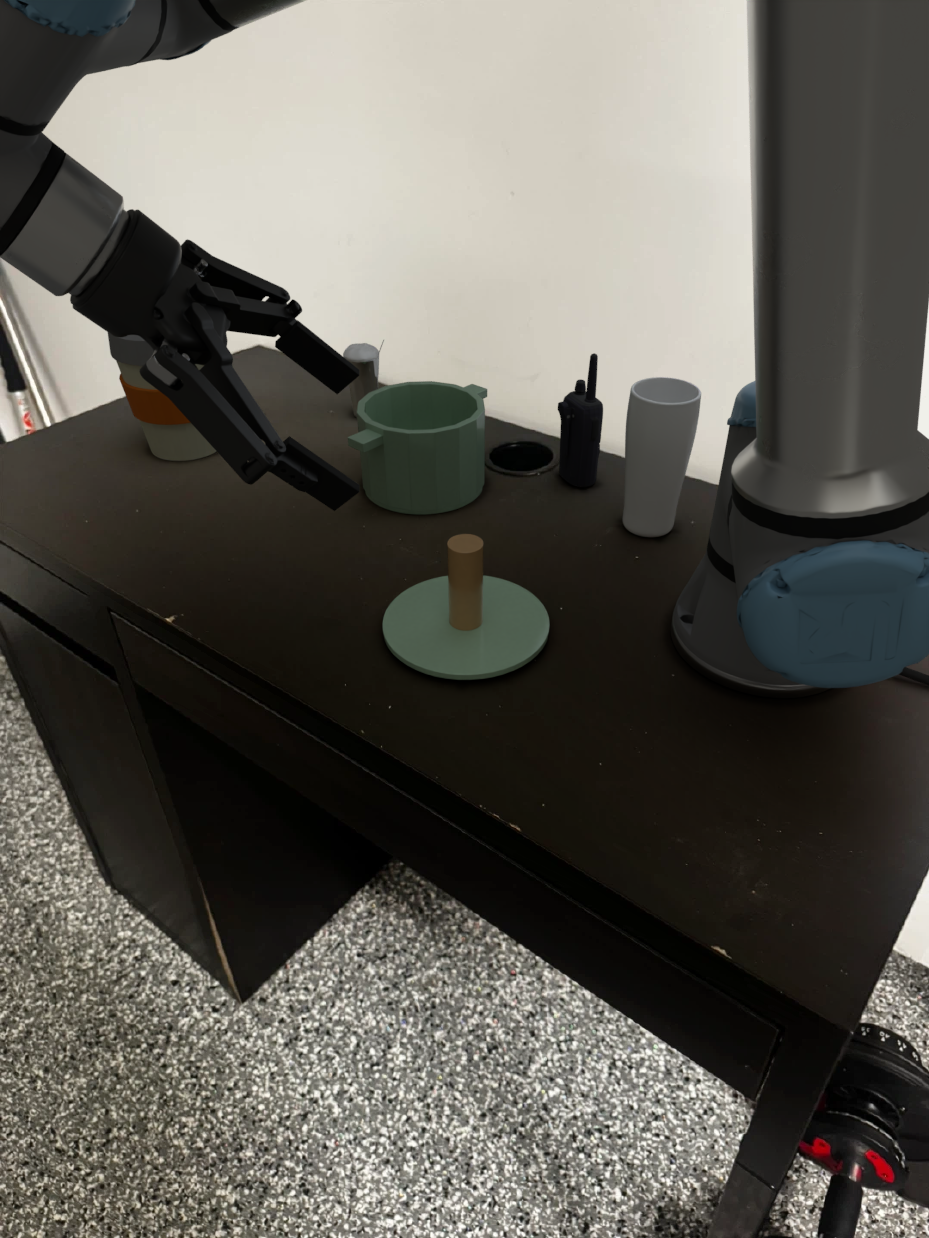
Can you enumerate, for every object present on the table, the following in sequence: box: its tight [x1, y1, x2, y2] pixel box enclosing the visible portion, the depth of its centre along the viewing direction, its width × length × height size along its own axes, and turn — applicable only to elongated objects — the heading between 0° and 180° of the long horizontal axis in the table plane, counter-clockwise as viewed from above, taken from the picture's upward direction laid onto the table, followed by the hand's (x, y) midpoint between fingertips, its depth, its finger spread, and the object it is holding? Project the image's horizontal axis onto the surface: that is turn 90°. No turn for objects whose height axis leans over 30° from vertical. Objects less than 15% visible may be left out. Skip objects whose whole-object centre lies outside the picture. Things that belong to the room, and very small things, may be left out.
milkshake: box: [342, 339, 385, 418], centre depth 113 cm, size 4×5×10 cm
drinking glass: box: [621, 376, 702, 538], centre depth 88 cm, size 7×7×15 cm
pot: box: [347, 380, 488, 515], centre depth 98 cm, size 14×19×10 cm
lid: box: [381, 533, 551, 681], centre depth 76 cm, size 15×15×9 cm
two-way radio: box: [557, 353, 604, 488], centre depth 97 cm, size 6×4×15 cm
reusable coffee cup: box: [107, 332, 218, 462], centre depth 105 cm, size 13×13×15 cm
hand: (348, 437), depth 69 cm, fingers open, 13 cm apart
